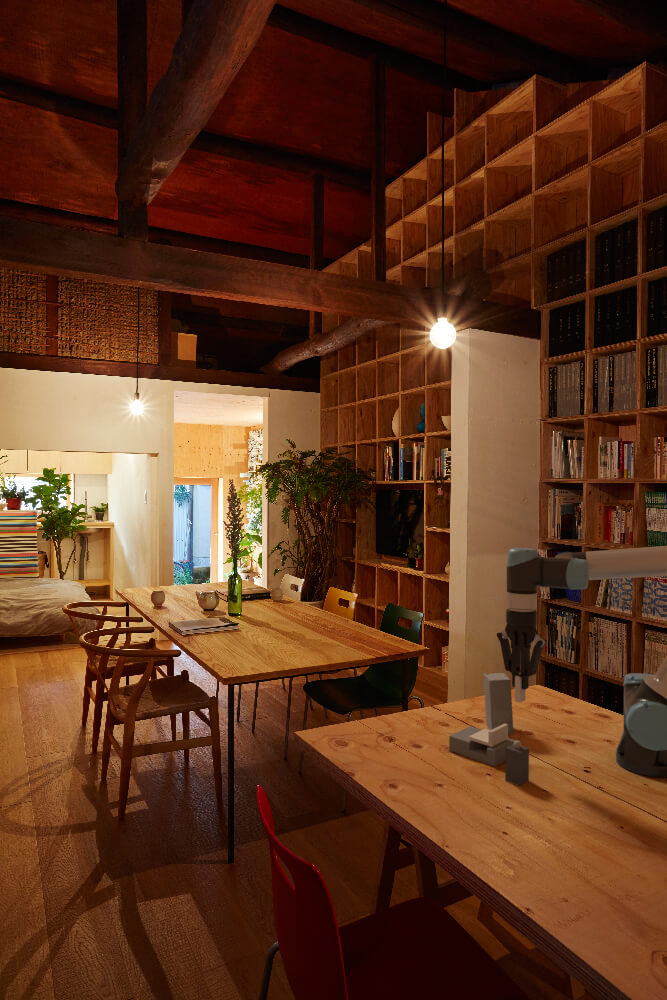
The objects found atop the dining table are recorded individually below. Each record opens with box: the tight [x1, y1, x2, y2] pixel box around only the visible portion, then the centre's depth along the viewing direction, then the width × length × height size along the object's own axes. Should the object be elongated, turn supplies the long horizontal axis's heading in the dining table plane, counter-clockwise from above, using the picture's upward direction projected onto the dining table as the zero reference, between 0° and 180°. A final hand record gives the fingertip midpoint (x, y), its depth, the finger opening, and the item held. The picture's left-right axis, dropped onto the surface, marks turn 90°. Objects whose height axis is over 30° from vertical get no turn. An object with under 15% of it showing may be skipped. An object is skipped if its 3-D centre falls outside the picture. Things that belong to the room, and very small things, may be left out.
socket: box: [448, 726, 516, 767], centre depth 173 cm, size 14×10×4 cm
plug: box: [504, 740, 530, 787], centre depth 156 cm, size 4×4×10 cm
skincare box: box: [483, 672, 514, 735], centre depth 190 cm, size 8×7×16 cm
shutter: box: [469, 724, 509, 747], centre depth 171 cm, size 7×8×4 cm
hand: (519, 700), depth 164 cm, fingers closed
